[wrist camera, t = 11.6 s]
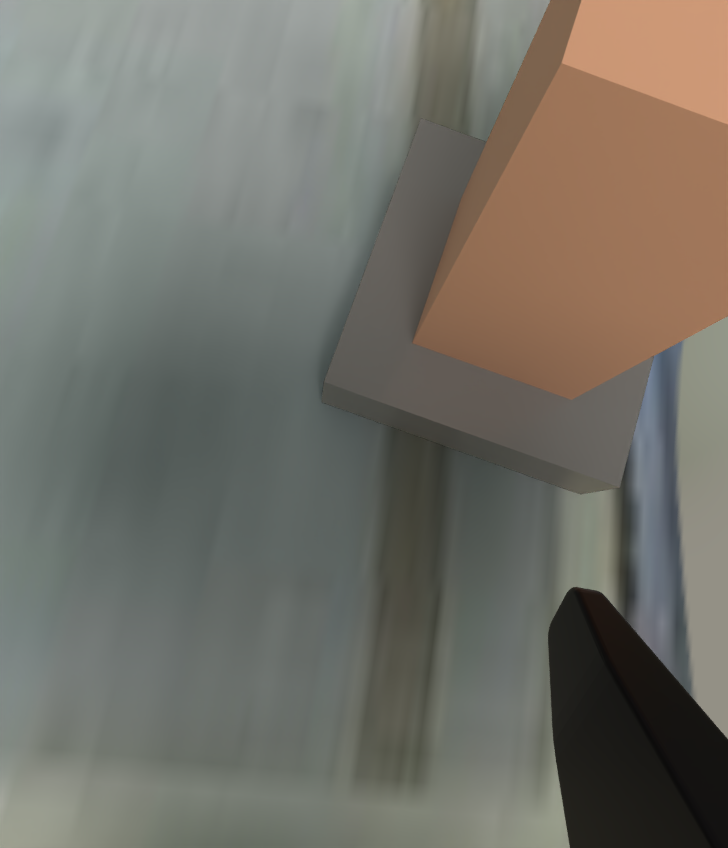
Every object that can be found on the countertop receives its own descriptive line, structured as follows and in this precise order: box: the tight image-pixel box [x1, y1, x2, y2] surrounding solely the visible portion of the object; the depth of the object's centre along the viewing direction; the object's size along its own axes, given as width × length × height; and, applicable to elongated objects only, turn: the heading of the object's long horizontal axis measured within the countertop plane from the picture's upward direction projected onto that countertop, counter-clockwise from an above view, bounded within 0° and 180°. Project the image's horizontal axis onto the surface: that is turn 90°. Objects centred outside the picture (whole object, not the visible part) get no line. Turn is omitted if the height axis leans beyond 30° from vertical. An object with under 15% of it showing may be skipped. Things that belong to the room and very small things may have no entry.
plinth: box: [322, 118, 654, 494], centre depth 23 cm, size 10×10×3 cm
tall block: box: [412, 0, 728, 400], centre depth 15 cm, size 6×6×12 cm
